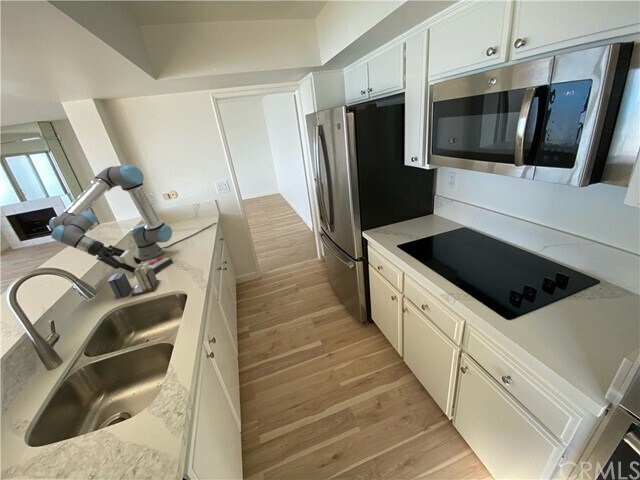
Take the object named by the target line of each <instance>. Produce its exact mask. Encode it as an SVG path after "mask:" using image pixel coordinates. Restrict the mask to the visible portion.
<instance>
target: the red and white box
mask: <svg viewBox="0 0 640 480" xmlns="http://www.w3.org/2000/svg"><path fill="white" fill-rule="evenodd" d="M147 263H148V265H149V267H150V268H152V269H153V271H154V274H155V275H156V274H157V273H159V272H160V271H161V270H162V269H164V268H166V267H168V266H169V265H171V264H173V259H172V258H170V257H156V258H154V260H152V261H149V262H147Z"/></svg>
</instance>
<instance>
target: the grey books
mask: <svg viewBox="0 0 640 480" xmlns="http://www.w3.org/2000/svg"><path fill="white" fill-rule="evenodd" d="M107 282H108V284H109V286H110V288H111V290H112V291H113V293H114V296H115V297H116V299H119V298H123V297H127V296H129V295H130V293H131V292H132V290H133V287H132V285H131V282H130V281H129V278H128V276H127V274H126V272H119V273H115V274H112V276H111V277H110V278H109V279H108V280H107Z"/></svg>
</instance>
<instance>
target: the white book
mask: <svg viewBox="0 0 640 480" xmlns="http://www.w3.org/2000/svg"><path fill="white" fill-rule="evenodd" d="M133 256H134V255H133V253H132V251H131V249H126V250H125V252H124V253H123V254H122V255H121V256H120V257H119V256H118V259H119V262H121V263H125V264H127V265H130V266H132V267H134V268H136V267H137V265H138V264H137V263H136V262H135V260H134V257H135V256H134V257H133ZM124 272H125V274H126V277H127V279H128V280H132V279H134V278H136V276H135V274H134V272H133V273H132V272H130V271H127V270H125V269H124Z"/></svg>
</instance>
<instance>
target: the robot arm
mask: <svg viewBox="0 0 640 480" xmlns="http://www.w3.org/2000/svg"><path fill="white" fill-rule="evenodd" d="M143 173H144V172H143V171H142V170H141V169H140V168H139V167H138V166H135V165H133V164H122V165H116V166H114V165H113V166H108V167H106V168H105V169H103V170H101V171H100V172H99V173H97V175H96V176H94V178H93V179H91V183H90V185H89V186H88V187H86V189H85V190H84V191H83V192H82V193H80V195H79V196H78V197H77V198H76V199H75V200H73V202H72V203H71V204H70V205H69V206H68V207H67V208H66V209H65V210H64V211H63V212H62V213H61V214H59V216H54V217H52V218H50V220H49V221H48V222H49V223H48V224H49V227H50V228H51V229H52V232H51V234H50V236H51V239H53V240H55V241H56V242H59V243H62V244H64V245H66V246H69V247H72V248H74V249H76V250H79V251H80V252H84V253H87V254H88V255H89V256H93V257H96V256H97V257H96V258H95V259H96V260H98V261H100V262H102V263H104V264H106V265H108V266H110V267H111V268H113V269H115V270H116V269H119V268H120V269H123V270H124V271H125V270H127V271H130V272H132V273H133V272H134V271H135V269H136V268H134V267H132V266H130V265H127V264H125V263H121V261H120V260H118V259H117V258H116V257H118V258H119V257H120V256H121V255H122V254H123V253H124V252H125V251H126V250H125V249H123V248H119V247H116V246H113V245H111V244H110V245H108V246H105V244H104V243H103V242H101V241H99V240H96V239H95V238H94V237H90V236H88V235H86V233H87V232H88V231H89V230H90V229H91V228H92V227H93V226H94V225H95V223H96V222H97V221H98V218H97V216H96V214H94V213H92V212H91V211H89V210H91V209H92V207H94V205H95V204H96V203H97V202H98V201H99V200H100V199H101V198H102V196H103V195H105V193H106V192H110V191H111V190H112V189H113V188H115V187H120V189H121V190H122V192H126V193H127V195H128V196H129V198H130V200H131V202H132V204H133V205H134V207H135V209H136V210H137V212H138V214H139V215H140V217H141V219H142V221H143V222H144V223H142V224H139V225H136V226H134V227H132V228H131V230H130V233H131V236H132V238H133V240H134V243H135V245H136V247H137V252H138V253H137V256H138V257H136V256H134V255H133V257H134V260H135V262H136V264H137V265H140V264H142V261H148V260H152V259H156V258H158V257H160V256H161V255H162V254H163V253H164V251H163V249H167V248H169V247H172V246H173V245H175V244H178V243H179V242H182V241H185V240H186V239H189V238H191V237H192V236H195V235H197V234H199V233H200V232H202V231H204V230H206V229H208V228H210V227H212V226H213V225H217V224H218V223H217V222H213V223H212V224H209V225H208V226H206V227H205V228H203V229H201V230H199V231H197V232H195V233H193V234H191V235H189V236H186V237H184V238H182V239H179V240H177V241H175V242H173V243H171V244H169V245H167V246H163V247H160V245H159V244H158V243H161V244H162V243H167V242H169V241H170V240H171V239H172V236H173V229H172V227H171V226H170V225H168V224H165V222H164V220H161V219H160V218H159V216H158V215H157V212H156V211H155V209H154V207H153V204H152V203H151V201H150V199H149V197H148V196H147V194H146V191H145V190H144V189H143V186H144V180H145V179H144V174H143Z"/></svg>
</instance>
